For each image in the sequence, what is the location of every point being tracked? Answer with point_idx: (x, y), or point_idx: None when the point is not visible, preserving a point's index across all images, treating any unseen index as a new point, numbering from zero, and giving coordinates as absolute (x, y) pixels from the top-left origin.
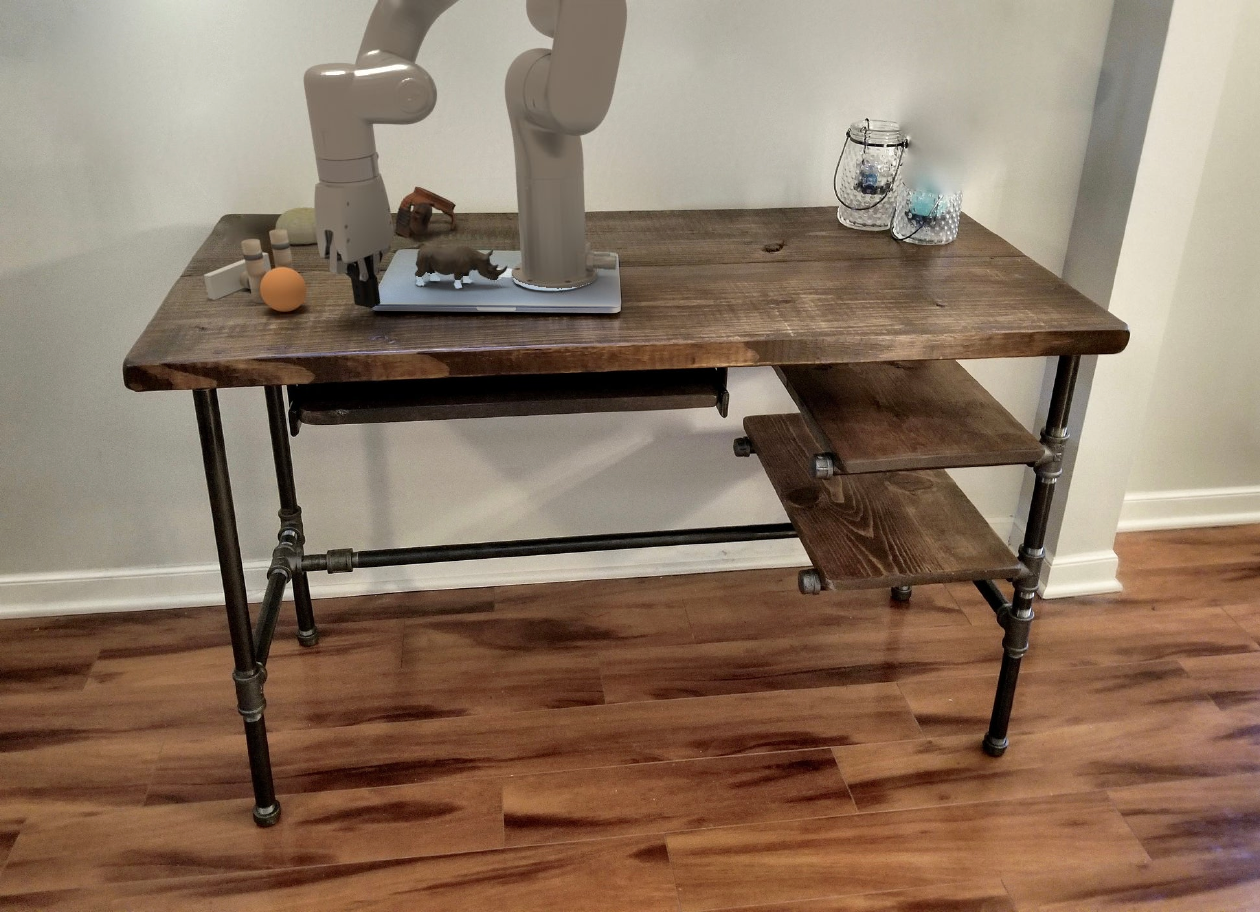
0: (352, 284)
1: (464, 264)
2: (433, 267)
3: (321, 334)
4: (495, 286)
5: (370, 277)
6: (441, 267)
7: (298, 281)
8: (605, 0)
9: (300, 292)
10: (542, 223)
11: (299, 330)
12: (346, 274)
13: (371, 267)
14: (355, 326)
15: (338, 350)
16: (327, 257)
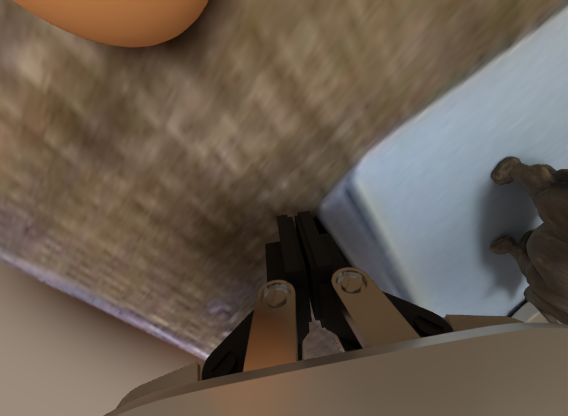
0: (267, 277)
1: (551, 303)
2: (546, 240)
3: (142, 228)
4: (514, 282)
5: (320, 315)
6: (540, 262)
7: (121, 8)
8: None
9: (142, 43)
10: None
11: (103, 166)
12: (241, 324)
13: (341, 349)
14: (227, 247)
15: (132, 307)
16: (148, 394)
